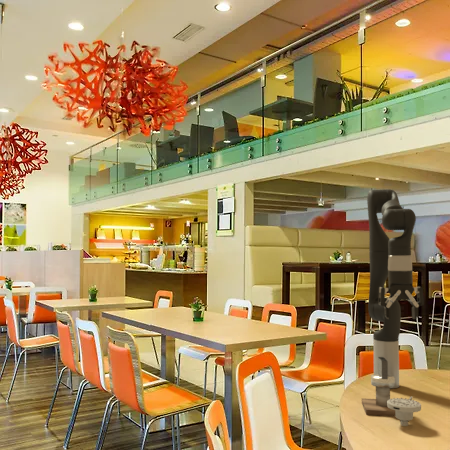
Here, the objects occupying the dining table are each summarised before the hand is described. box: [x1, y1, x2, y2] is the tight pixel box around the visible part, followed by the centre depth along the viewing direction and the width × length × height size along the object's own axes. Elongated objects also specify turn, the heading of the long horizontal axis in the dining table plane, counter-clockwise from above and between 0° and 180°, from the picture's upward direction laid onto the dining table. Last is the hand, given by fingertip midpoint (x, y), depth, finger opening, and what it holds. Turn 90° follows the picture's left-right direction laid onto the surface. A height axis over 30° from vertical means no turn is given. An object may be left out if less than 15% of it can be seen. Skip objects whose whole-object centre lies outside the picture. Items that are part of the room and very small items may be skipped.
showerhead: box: [387, 396, 422, 427], centre depth 147 cm, size 9×7×10 cm
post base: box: [361, 386, 396, 417], centre depth 162 cm, size 13×12×8 cm
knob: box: [370, 357, 395, 389], centre depth 163 cm, size 7×8×8 cm
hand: (401, 318), depth 165 cm, fingers open, 8 cm apart
